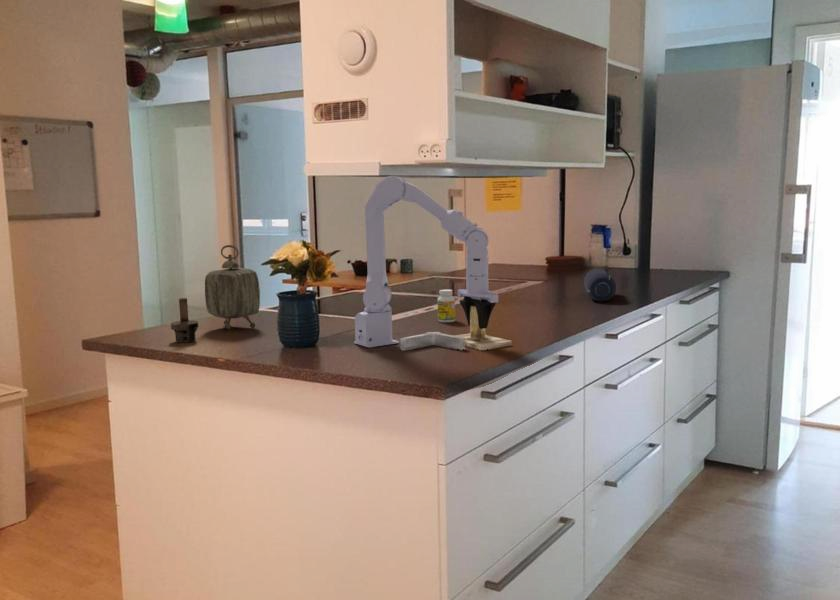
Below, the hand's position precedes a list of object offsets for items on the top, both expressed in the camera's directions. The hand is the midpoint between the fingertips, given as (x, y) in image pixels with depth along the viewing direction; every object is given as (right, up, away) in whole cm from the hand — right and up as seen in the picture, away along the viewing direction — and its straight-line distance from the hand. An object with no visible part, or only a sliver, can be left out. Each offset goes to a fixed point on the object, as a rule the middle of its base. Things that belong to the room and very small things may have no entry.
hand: (477, 327), depth 203 cm
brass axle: (0, -2, 0) cm, 2 cm away
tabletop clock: (-71, -2, +31) cm, 78 cm away
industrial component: (-80, -5, +12) cm, 82 cm away
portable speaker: (+50, +7, +78) cm, 93 cm away
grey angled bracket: (-12, -5, -3) cm, 13 cm away
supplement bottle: (-7, 0, +35) cm, 36 cm away
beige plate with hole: (0, -4, +1) cm, 4 cm away
